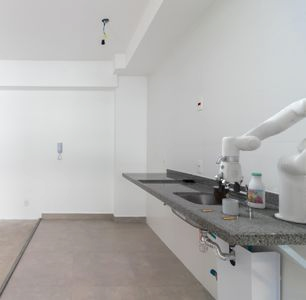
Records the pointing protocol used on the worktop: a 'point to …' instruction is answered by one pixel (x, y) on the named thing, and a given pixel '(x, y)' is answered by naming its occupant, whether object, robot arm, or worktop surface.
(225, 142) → the robot arm
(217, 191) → the coffee mug
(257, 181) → the milk bottle
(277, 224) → the worktop surface
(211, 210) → the tape marks
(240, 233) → the worktop surface
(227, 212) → the pot
